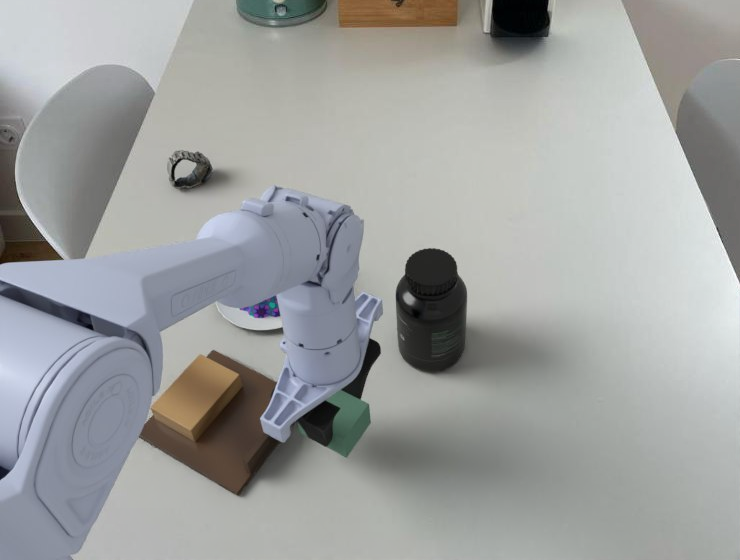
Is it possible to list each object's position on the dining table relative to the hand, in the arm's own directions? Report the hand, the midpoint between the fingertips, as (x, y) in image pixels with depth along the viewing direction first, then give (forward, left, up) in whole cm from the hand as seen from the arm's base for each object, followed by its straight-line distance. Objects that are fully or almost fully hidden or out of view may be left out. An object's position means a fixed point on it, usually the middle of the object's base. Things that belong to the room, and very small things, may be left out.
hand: (334, 418), depth 71 cm
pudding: (+12, +17, -5) cm, 21 cm away
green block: (0, 0, -1) cm, 1 cm away
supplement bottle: (+14, -2, -5) cm, 15 cm away
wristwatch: (+22, +37, -5) cm, 43 cm away
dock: (-3, +11, -5) cm, 12 cm away
